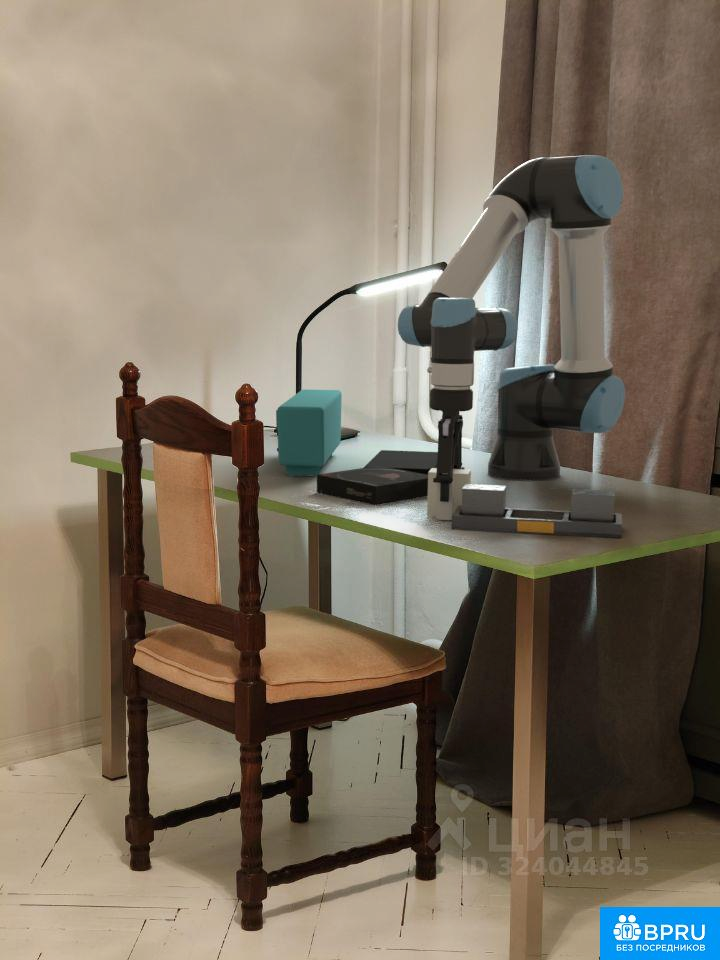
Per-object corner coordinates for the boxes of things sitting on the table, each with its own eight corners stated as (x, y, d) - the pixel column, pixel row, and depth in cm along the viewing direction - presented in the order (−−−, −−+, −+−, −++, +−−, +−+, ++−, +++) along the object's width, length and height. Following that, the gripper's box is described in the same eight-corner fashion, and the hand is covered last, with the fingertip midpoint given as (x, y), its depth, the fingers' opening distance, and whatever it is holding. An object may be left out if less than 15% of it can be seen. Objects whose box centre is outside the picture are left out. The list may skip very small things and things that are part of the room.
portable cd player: (439, 496, 237) (439, 476, 236) (375, 507, 225) (375, 486, 225) (380, 484, 249) (380, 465, 248) (316, 495, 237) (316, 474, 237)
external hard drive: (443, 465, 272) (443, 452, 272) (432, 483, 250) (432, 469, 249) (380, 463, 275) (380, 450, 274) (363, 481, 252) (363, 466, 252)
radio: (297, 453, 286) (297, 388, 283) (341, 454, 285) (341, 389, 282) (273, 478, 252) (272, 406, 250) (323, 480, 251) (323, 407, 249)
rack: (458, 518, 215) (458, 481, 214) (621, 526, 209) (623, 488, 208) (451, 529, 206) (452, 490, 205) (621, 538, 200) (623, 499, 199)
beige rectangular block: (430, 511, 220) (431, 468, 219) (469, 513, 219) (470, 469, 218) (427, 516, 216) (428, 472, 215) (466, 518, 215) (467, 474, 213)
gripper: (438, 380, 225) (435, 501, 229) (420, 392, 204) (417, 525, 208) (479, 382, 223) (476, 503, 227) (465, 394, 202) (461, 527, 206)
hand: (448, 513), depth 217 cm, fingers open, 9 cm apart
